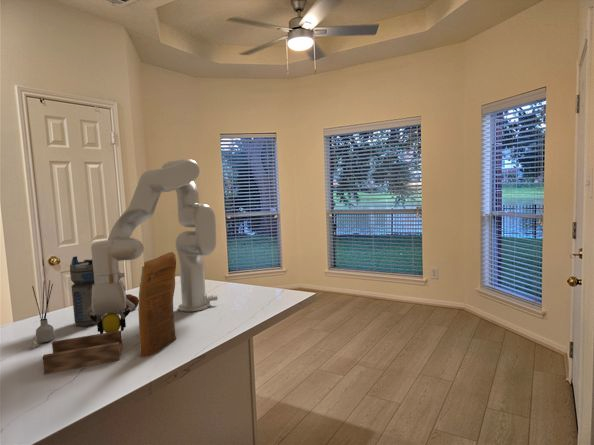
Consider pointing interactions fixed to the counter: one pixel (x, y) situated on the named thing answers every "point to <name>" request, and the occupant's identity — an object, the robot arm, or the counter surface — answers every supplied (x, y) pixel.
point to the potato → (132, 300)
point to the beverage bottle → (82, 290)
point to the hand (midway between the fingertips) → (112, 331)
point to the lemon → (111, 322)
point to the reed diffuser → (43, 324)
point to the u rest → (83, 352)
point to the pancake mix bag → (157, 304)
